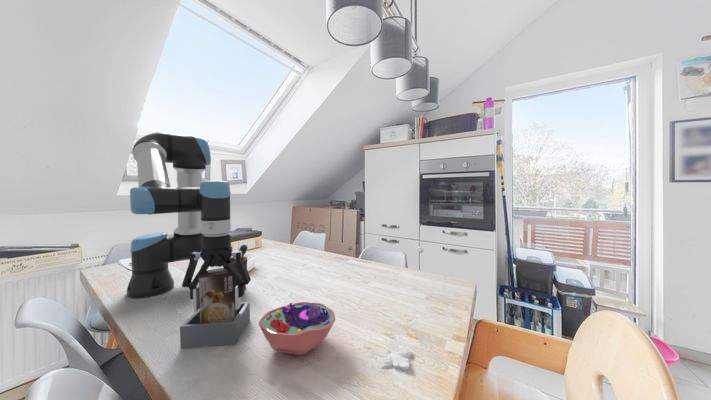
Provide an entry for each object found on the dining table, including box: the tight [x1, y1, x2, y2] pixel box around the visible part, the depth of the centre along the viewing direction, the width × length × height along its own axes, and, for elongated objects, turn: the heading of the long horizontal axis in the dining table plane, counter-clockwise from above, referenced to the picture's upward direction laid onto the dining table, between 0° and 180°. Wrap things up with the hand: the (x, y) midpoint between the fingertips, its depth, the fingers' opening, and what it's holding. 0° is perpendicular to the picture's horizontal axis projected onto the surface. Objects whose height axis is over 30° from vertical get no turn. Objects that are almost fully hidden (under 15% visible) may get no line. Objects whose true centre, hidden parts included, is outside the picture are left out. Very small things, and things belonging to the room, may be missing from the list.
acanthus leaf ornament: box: [381, 350, 413, 372], centre depth 63 cm, size 8×7×2 cm
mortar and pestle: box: [230, 244, 248, 291], centre depth 104 cm, size 12×9×20 cm
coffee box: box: [198, 267, 237, 324], centre depth 73 cm, size 9×6×16 cm
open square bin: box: [179, 301, 251, 350], centre depth 74 cm, size 14×13×6 cm
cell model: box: [258, 301, 336, 356], centre depth 68 cm, size 17×20×11 cm
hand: (218, 308), depth 74 cm, fingers closed on coffee box, 11 cm apart
